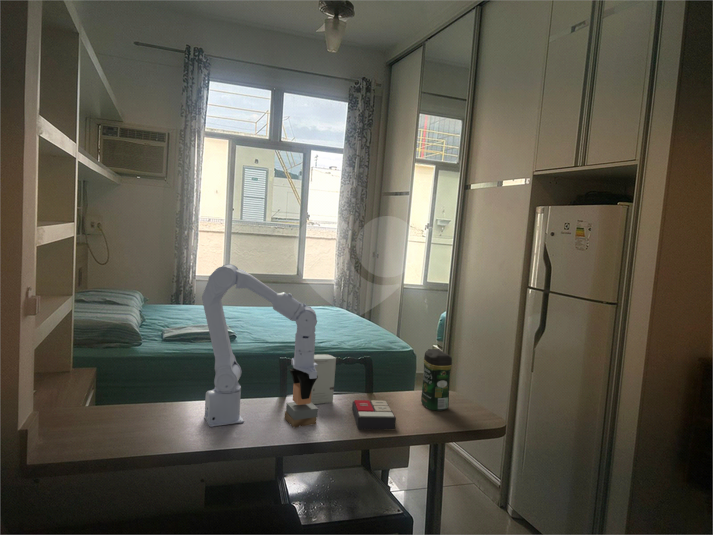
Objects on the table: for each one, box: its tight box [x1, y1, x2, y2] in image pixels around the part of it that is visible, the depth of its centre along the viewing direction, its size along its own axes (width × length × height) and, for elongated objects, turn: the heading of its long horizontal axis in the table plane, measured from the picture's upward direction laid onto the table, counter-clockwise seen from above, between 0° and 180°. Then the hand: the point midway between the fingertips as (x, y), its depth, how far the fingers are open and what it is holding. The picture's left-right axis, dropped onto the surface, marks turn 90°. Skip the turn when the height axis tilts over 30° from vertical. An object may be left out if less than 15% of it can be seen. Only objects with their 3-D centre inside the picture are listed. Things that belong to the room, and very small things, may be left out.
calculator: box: [351, 399, 397, 430], centre depth 142 cm, size 11×4×15 cm
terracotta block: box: [292, 382, 311, 405], centre depth 137 cm, size 4×4×5 cm
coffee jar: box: [420, 348, 453, 412], centre depth 155 cm, size 10×8×19 cm
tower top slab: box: [285, 401, 319, 420], centre depth 137 cm, size 7×7×2 cm
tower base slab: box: [284, 410, 317, 428], centre depth 137 cm, size 7×7×2 cm
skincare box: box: [311, 354, 337, 405], centre depth 154 cm, size 8×6×15 cm
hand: (302, 395), depth 137 cm, fingers open, 4 cm apart
